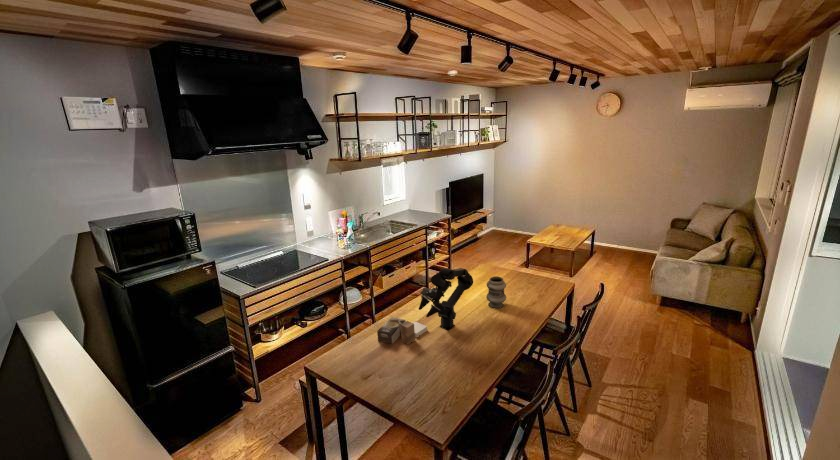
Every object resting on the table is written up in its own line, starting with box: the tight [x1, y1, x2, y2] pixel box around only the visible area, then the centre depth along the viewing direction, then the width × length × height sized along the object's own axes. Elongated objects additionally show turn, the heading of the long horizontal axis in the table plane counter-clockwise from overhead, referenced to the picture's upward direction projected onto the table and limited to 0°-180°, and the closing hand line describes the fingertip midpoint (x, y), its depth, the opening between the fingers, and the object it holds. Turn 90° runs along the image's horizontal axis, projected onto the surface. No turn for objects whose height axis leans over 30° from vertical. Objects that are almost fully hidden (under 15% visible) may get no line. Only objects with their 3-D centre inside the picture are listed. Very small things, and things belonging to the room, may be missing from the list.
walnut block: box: [400, 320, 416, 345], centre depth 205 cm, size 5×5×10 cm
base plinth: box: [412, 321, 428, 338], centre depth 215 cm, size 9×9×2 cm
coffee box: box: [376, 316, 407, 345], centre depth 212 cm, size 9×6×16 cm
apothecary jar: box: [486, 275, 507, 310], centre depth 237 cm, size 12×12×18 cm
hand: (422, 313), depth 207 cm, fingers open, 9 cm apart
